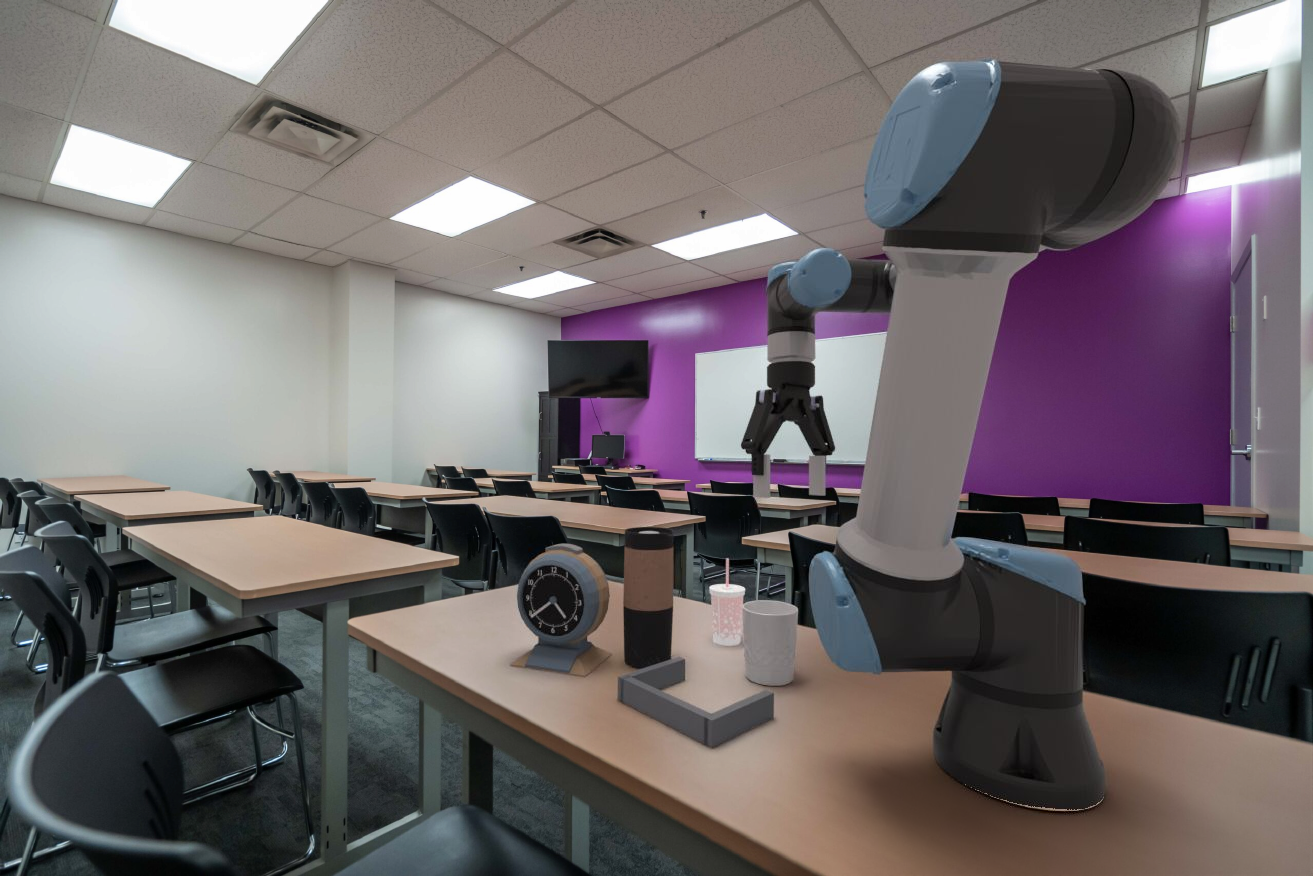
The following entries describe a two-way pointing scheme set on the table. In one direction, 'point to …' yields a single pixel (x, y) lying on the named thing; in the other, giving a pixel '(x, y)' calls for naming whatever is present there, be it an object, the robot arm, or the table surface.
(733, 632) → the beverage cup
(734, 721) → the corral
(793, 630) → the white cup
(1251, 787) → the table surface
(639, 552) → the travel mug
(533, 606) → the alarm clock
